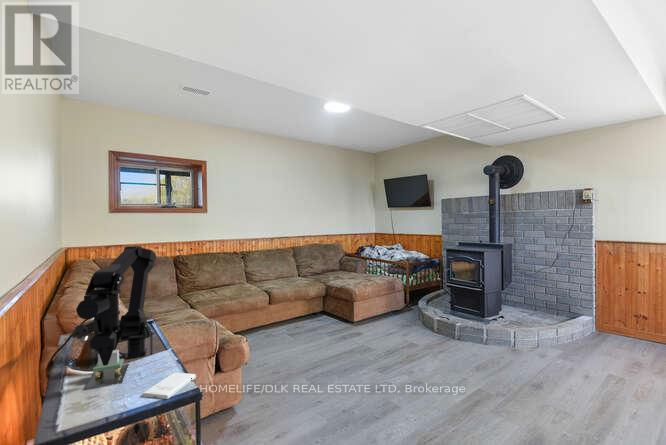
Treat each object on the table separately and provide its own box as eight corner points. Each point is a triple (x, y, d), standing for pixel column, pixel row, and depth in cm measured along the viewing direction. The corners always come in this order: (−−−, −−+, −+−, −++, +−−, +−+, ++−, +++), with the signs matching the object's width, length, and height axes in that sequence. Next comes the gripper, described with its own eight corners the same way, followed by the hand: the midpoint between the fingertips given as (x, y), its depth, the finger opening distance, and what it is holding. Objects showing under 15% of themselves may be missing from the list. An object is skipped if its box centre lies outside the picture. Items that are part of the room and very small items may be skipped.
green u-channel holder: (97, 365, 102) (97, 351, 102) (123, 361, 105) (123, 347, 105) (93, 372, 97) (92, 357, 97) (120, 367, 100) (120, 353, 100)
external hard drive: (196, 379, 99) (167, 400, 87) (173, 377, 101) (142, 398, 89) (196, 374, 99) (167, 394, 87) (172, 372, 101) (141, 392, 89)
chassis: (96, 371, 105) (96, 361, 105) (128, 366, 109) (128, 356, 109) (85, 389, 93) (85, 378, 93) (122, 382, 97) (122, 371, 97)
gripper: (84, 307, 106) (85, 354, 106) (65, 321, 89) (67, 377, 89) (124, 302, 111) (125, 347, 111) (113, 316, 94) (114, 369, 94)
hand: (108, 359), depth 101 cm, fingers open, 9 cm apart
